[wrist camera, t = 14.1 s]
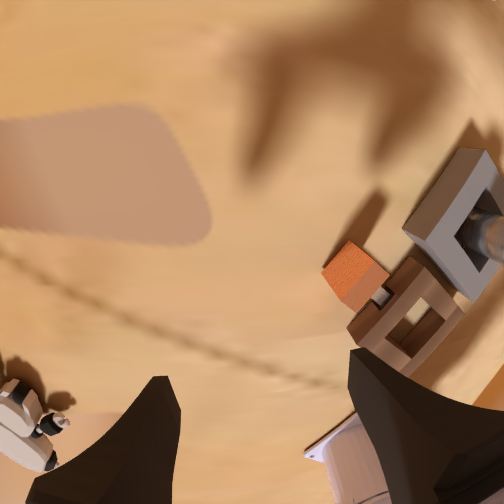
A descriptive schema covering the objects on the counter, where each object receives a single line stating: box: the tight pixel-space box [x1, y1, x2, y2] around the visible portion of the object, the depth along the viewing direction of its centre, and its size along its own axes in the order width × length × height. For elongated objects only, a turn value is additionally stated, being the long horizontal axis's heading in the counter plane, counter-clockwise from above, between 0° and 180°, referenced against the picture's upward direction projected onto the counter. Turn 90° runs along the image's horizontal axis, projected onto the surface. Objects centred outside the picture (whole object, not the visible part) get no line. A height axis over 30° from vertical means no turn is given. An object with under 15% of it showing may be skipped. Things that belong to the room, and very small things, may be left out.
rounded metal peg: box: [454, 207, 504, 266], centre depth 16 cm, size 3×3×8 cm
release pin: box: [321, 240, 393, 313], centre depth 18 cm, size 6×3×4 cm, turn 52°
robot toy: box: [0, 378, 70, 473], centre depth 22 cm, size 12×4×15 cm
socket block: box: [347, 256, 465, 378], centre depth 21 cm, size 7×7×2 cm
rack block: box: [402, 147, 504, 303], centre depth 18 cm, size 8×8×3 cm
